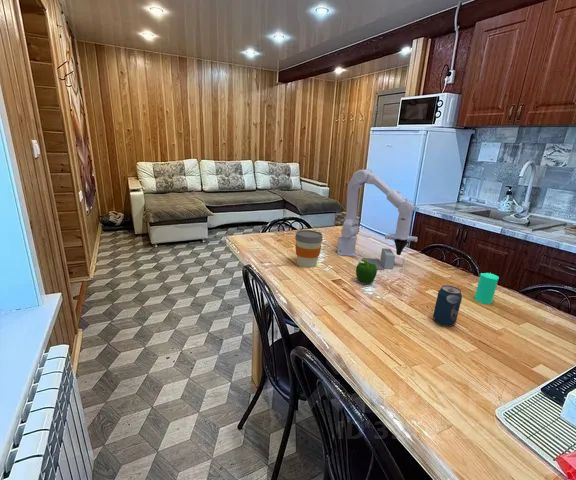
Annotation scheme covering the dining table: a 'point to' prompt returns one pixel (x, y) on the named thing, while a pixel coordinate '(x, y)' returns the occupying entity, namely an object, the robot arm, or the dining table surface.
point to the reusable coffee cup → (308, 247)
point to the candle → (486, 288)
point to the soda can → (447, 305)
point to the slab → (387, 258)
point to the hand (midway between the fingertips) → (398, 254)
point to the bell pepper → (366, 272)
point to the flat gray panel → (376, 262)
